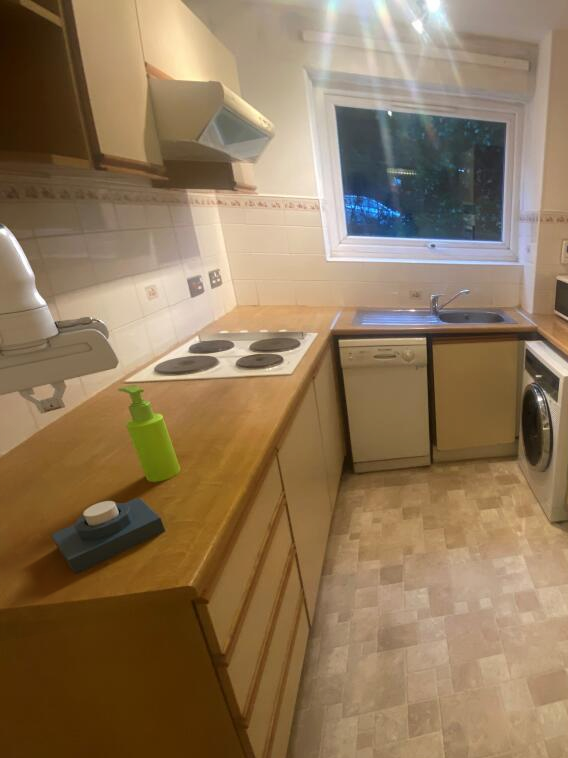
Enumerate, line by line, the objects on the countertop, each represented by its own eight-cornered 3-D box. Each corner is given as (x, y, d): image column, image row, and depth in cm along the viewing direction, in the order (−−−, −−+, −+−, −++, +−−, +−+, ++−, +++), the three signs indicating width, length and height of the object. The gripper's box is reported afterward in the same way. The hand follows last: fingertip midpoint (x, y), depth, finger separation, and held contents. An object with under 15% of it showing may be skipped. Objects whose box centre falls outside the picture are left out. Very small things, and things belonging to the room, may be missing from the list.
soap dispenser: (167, 462, 97) (138, 380, 89) (186, 470, 94) (158, 385, 87) (137, 476, 92) (104, 390, 84) (157, 484, 90) (124, 396, 82)
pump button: (92, 529, 71) (87, 519, 70) (84, 520, 73) (79, 510, 72) (122, 516, 74) (118, 506, 73) (114, 507, 76) (110, 497, 75)
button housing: (75, 574, 68) (63, 550, 66) (57, 548, 73) (45, 524, 71) (165, 531, 77) (156, 508, 75) (144, 510, 82) (135, 488, 80)
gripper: (95, 312, 76) (123, 385, 81) (-96, 341, 60) (-45, 429, 65) (108, 316, 72) (136, 392, 78) (-91, 349, 57) (-38, 440, 62)
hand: (52, 409), depth 71 cm, fingers closed
